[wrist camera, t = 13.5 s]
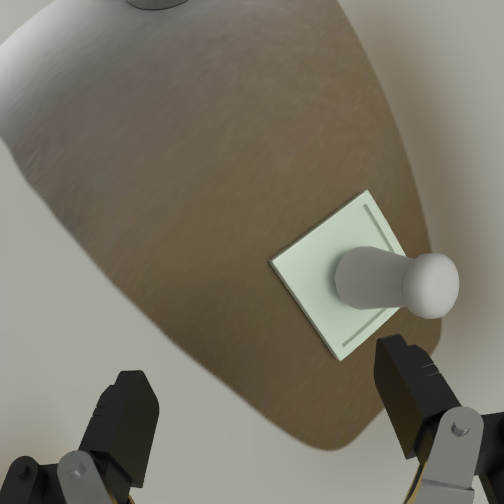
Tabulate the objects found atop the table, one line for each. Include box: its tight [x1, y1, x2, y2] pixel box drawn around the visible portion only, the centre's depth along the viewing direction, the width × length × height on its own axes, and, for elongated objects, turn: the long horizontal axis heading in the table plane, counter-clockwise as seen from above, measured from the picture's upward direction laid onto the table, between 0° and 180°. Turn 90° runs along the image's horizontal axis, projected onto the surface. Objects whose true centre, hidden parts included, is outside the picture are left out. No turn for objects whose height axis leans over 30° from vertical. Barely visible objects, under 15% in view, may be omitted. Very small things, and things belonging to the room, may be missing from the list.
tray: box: [268, 190, 406, 361], centre depth 30 cm, size 12×12×2 cm
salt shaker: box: [333, 246, 459, 319], centre depth 23 cm, size 6×6×13 cm
